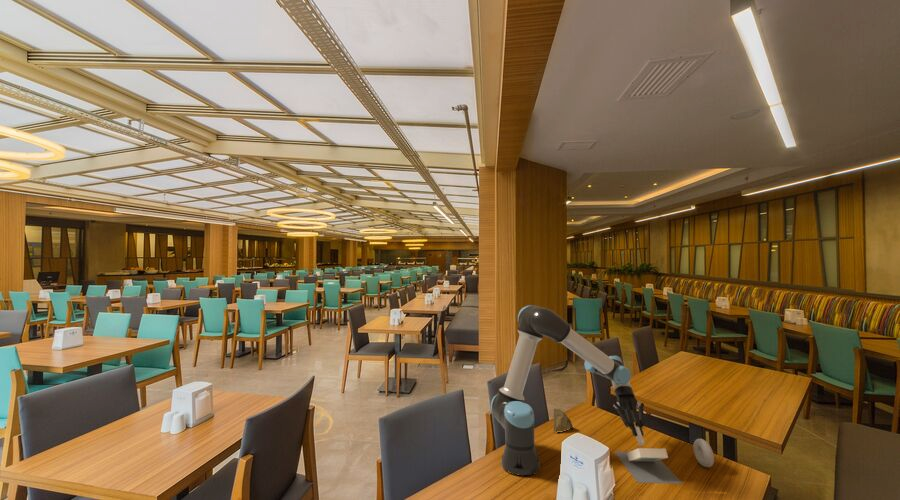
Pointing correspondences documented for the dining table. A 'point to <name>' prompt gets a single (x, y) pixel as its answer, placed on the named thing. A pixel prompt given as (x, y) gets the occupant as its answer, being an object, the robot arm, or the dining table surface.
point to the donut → (703, 453)
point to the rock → (561, 421)
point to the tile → (647, 455)
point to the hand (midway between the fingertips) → (641, 444)
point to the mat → (648, 471)
